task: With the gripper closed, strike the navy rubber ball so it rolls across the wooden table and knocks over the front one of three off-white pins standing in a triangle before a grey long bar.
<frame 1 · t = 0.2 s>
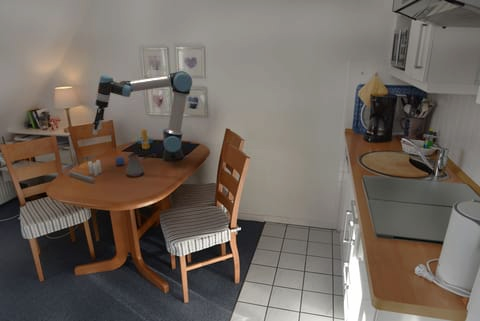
hand: (96, 131, 220), 27 cm above the table, tool tilted 20°, fingers open, 13 cm apart
ball: (119, 161, 238), on the table
back right pin: (91, 173, 223), on the table
front pin: (99, 172, 225), on the table
back left pin: (96, 175, 221), on the table
cylinder: (146, 148, 277), on the table
coffee pot: (142, 175, 221), on the table
grey long bar: (82, 178, 215), on the table
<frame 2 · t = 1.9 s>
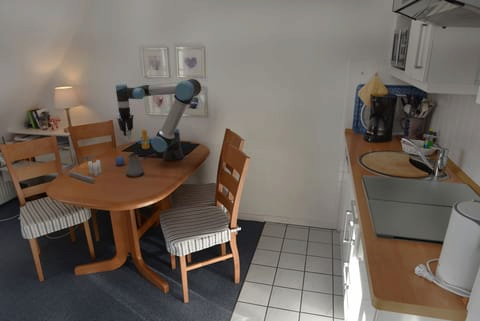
hand: (128, 139, 241), 16 cm above the table, tool pointing down, fingers closed
nothing on the table moved.
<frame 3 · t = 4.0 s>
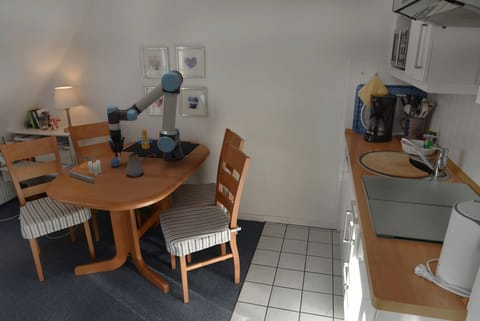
hand: (118, 161, 238), 3 cm above the table, tool pointing down, fingers closed
ball: (115, 162, 235), on the table
everything else where it was.
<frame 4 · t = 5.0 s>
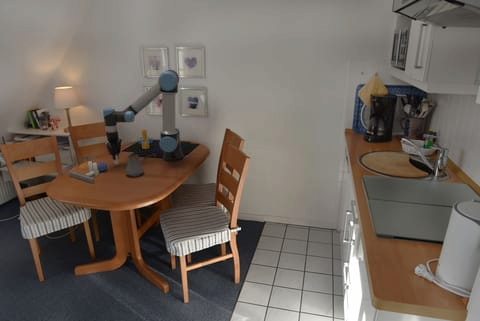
hand: (116, 163, 236), 2 cm above the table, tool pointing down, fingers closed
ball: (102, 166, 227), on the table
front pin: (97, 171, 224), point 1 cm above the table, tilted 90°
everything else where it was.
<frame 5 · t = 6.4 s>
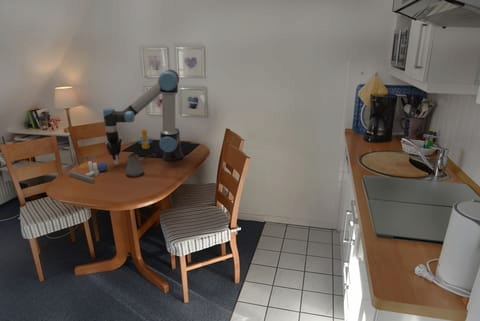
hand: (116, 163, 236), 2 cm above the table, tool pointing down, fingers closed
nothing on the table moved.
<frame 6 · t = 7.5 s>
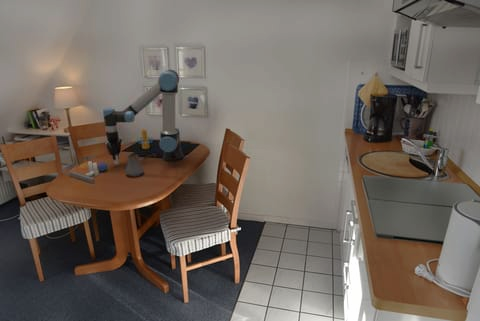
hand: (116, 163, 236), 2 cm above the table, tool pointing down, fingers closed
nothing on the table moved.
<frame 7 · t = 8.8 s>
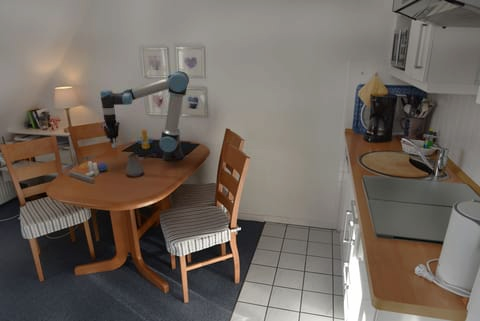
hand: (114, 147, 232), 14 cm above the table, tool pointing down, fingers closed
nothing on the table moved.
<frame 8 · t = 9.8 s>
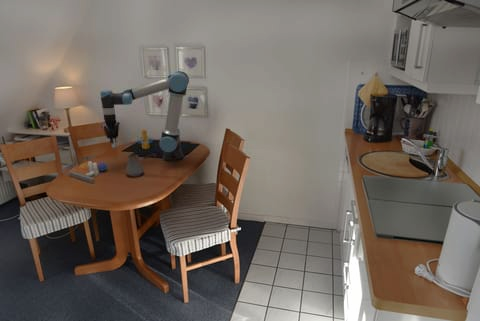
hand: (114, 147, 232), 14 cm above the table, tool pointing down, fingers closed
nothing on the table moved.
at the end: front pin tilted 90°; front pin never touched the robot; ball moved 13.9 cm from its start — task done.
